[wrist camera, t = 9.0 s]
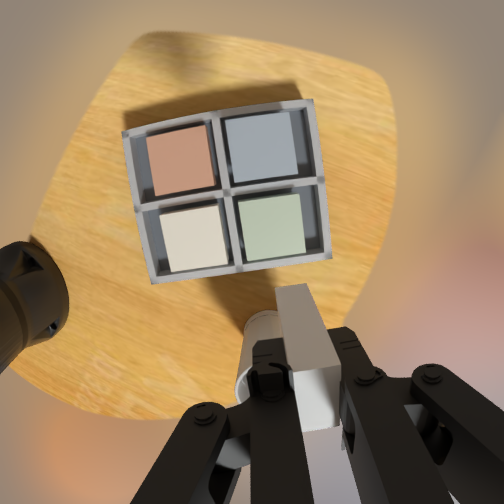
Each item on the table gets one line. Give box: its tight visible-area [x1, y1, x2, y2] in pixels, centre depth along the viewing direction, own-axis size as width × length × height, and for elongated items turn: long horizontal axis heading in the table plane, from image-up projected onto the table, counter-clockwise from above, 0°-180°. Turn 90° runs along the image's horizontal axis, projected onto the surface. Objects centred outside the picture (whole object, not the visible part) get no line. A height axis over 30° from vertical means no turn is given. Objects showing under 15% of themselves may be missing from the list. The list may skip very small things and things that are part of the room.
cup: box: [235, 310, 281, 404], centre depth 35 cm, size 8×8×12 cm
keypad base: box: [122, 99, 332, 284], centre depth 34 cm, size 20×17×4 cm
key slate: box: [225, 112, 298, 183], centre depth 30 cm, size 6×6×2 cm
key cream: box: [159, 203, 229, 272], centre depth 33 cm, size 6×6×2 cm
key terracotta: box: [146, 125, 216, 196], centre depth 31 cm, size 6×6×2 cm
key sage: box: [238, 192, 306, 261], centre depth 33 cm, size 6×6×2 cm
